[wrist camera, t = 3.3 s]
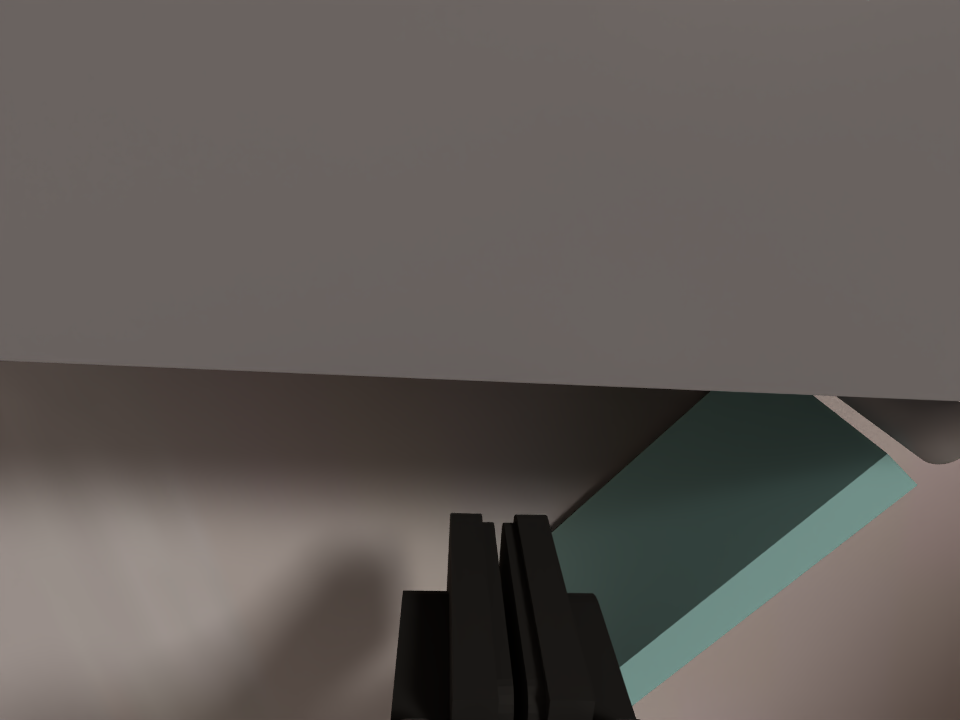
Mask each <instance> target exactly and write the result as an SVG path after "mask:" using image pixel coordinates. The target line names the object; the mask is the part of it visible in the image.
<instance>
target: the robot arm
mask: <svg viewBox="0 0 960 720" xmlns="http://www.w3.org/2000/svg"><path fill="white" fill-rule="evenodd" d="M391 720H639V719H636V717H635V714H634V711H633V708H632V704H631V701H630V698H629V695H628V692H627V689H626V686H625V683H624V680H623V676H622V673H621V670H620V667H619V664H618V661H617V658H616V655H615V652H614V649H613V645H612V642H611V639H610V636H609V633H608V630H607V627H606V624H605V621H604V617H603V614H602V611H601V608H600V605H599V602H598V600H597V597H596V596H595V595H594V594H593V593H567V590H566V586H565V583H564V579H563V575H562V571H561V567H560V563H559V560H558V556H557V552H556V548H555V544H554V540H553V536H552V533H551V529H550V525H549V521H548V518H547V516H546V515H515V516H514V522H513V523H503V525H502V534H501V547H500V560H499V561H498V553H497V545H496V536H495V528H494V523H493V522H482V514H468V513H451V514H450V532H449V554H448V575H447V591H403V596H402V606H401V617H400V627H399V638H398V648H397V659H396V669H395V680H394V690H393V701H392V711H391Z"/></svg>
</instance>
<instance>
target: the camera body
mask: <svg viewBox="0 0 960 720" xmlns="http://www.w3.org/2000/svg"><path fill="white" fill-rule="evenodd" d="M0 361H22V362H46V363H69V364H93V365H116V366H140V367H164V368H187V369H211V370H234V371H258V372H282V373H305V374H329V375H352V376H376V377H400V378H423V379H447V380H470V381H494V382H517V383H541V384H565V385H588V386H612V387H635V388H659V389H683V390H706V391H730V392H753V393H777V394H801V395H824V396H848V397H871V398H895V399H918V400H942V401H960V0H0Z"/></svg>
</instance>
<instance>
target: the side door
mask: <svg viewBox="0 0 960 720" xmlns="http://www.w3.org/2000/svg"><path fill="white" fill-rule="evenodd" d="M837 397H838V398H839V399H841V400H842V401H843V402H845V403H846V404H848V405H849V406H850V407H852V408H853V409H854V410H856V411H857V412H858V413H860V414H861V415H862V416H864V417H865V418H867V419H868V420H869V421H871V422H872V423H873V424H875V425H876V426H877V427H879V428H880V429H881V430H883V431H884V432H886V433H887V434H888V435H890V436H891V437H892V438H894V439H895V440H896V441H898V442H899V443H900V444H902V445H903V446H905V447H906V448H907V449H909V450H910V451H911V452H913V453H914V454H915V455H917V456H918V457H919V458H921V459H922V460H924V461H926V462H928V463H931V464H946V463H950V462H953V461H956V460H958V459H959V458H960V402H959V401H942V400H918V399H895V398H871V397H848V396H837ZM915 486H917V484H916V483H915V482H914V481H913V480H912V479H911V478H910V477H909V476H908V475H907V474H906V473H905V472H904V471H903V470H902V468H901V467H900V466H899V465H898V464H897V463H896V462H895V461H894V460H893V459H892V458H891V457H890V456H889V455H888V454H887V453H886V452H884V451H883V450H882V449H881V448H879V447H878V446H877V445H876V444H874V443H873V442H872V441H870V440H869V439H868V438H867V437H865V436H864V435H863V434H861V433H860V432H859V431H858V430H856V429H855V428H854V427H853V426H851V425H850V424H849V423H847V422H846V421H845V420H844V419H842V418H841V417H840V416H839V415H837V414H836V413H835V412H833V411H832V410H831V409H830V408H828V407H827V406H826V405H824V404H823V403H822V402H821V401H819V400H818V399H817V398H816V397H814V396H813V395H801V394H777V393H753V392H730V391H710V392H709V393H708V394H707V395H706V396H705V397H703V398H702V399H701V400H700V401H699V402H698V403H697V404H696V405H694V406H693V407H692V408H691V409H690V410H689V411H688V412H687V413H685V414H684V415H683V416H682V417H681V418H680V419H679V420H678V421H677V422H675V423H674V424H673V425H672V426H671V427H670V428H669V429H668V430H666V431H665V432H664V433H663V434H662V435H661V436H660V437H659V438H657V439H656V440H655V441H654V442H653V443H652V444H651V445H650V446H648V447H647V448H646V449H645V450H644V451H643V452H642V453H641V454H639V455H638V456H637V457H636V458H635V459H634V460H633V461H632V462H630V463H629V464H628V465H627V466H626V467H625V468H624V469H623V470H621V471H620V472H619V473H618V474H617V475H616V476H615V477H614V478H613V479H611V480H610V481H609V482H608V483H607V484H606V485H605V486H604V487H602V488H601V489H600V490H599V491H598V492H597V493H596V494H595V495H593V496H592V497H591V498H590V499H589V500H588V501H587V502H586V503H584V504H583V505H582V506H581V507H580V508H579V509H578V510H577V511H575V512H574V513H573V514H572V515H571V516H570V517H569V518H568V519H566V520H565V521H564V522H563V523H562V524H561V525H560V526H559V527H558V528H556V529H555V530H554V531H553V532H552V536H553V540H554V544H555V548H556V552H557V556H558V560H559V563H560V567H561V571H562V575H563V579H564V583H565V586H566V590H567V593H593V594H594V595H595V596H596V597H597V600H598V602H599V605H600V608H601V611H602V614H603V617H604V621H605V624H606V627H607V630H608V633H609V636H610V639H611V642H612V645H613V649H614V652H615V655H616V658H617V661H618V664H619V667H620V670H621V673H622V676H623V680H624V683H625V686H626V689H627V692H628V695H629V698H630V701H631V704H632V706H633V705H634V704H635V703H636V702H638V701H639V700H640V699H642V698H643V697H644V696H645V695H647V694H648V693H649V692H651V691H652V690H653V689H655V688H656V687H657V686H658V685H660V684H661V683H662V682H664V681H665V680H666V679H667V678H669V677H670V676H671V675H673V674H674V673H675V672H676V671H678V670H679V669H680V668H682V667H683V666H684V665H686V664H687V663H688V662H689V661H691V660H692V659H693V658H695V657H696V656H697V655H698V654H700V653H701V652H702V651H704V650H705V649H706V648H707V647H709V646H710V645H711V644H713V643H714V642H715V641H717V640H718V639H719V638H720V637H722V636H723V635H724V634H726V633H727V632H728V631H729V630H731V629H732V628H733V627H735V626H736V625H737V624H738V623H740V622H741V621H742V620H744V619H745V618H746V617H748V616H749V615H750V614H751V613H753V612H754V611H755V610H757V609H758V608H759V607H760V606H762V605H763V604H764V603H766V602H767V601H768V600H770V599H771V598H772V597H773V596H775V595H776V594H777V593H779V592H780V591H781V590H782V589H784V588H785V587H786V586H788V585H789V584H790V583H791V582H793V581H794V580H795V579H797V578H798V577H799V576H801V575H802V574H803V573H804V572H806V571H807V570H808V569H810V568H811V567H812V566H813V565H815V564H816V563H817V562H819V561H820V560H821V559H822V558H824V557H825V556H826V555H828V554H829V553H830V552H832V551H833V550H834V549H835V548H837V547H838V546H839V545H841V544H842V543H843V542H844V541H846V540H847V539H848V538H850V537H851V536H852V535H853V534H855V533H856V532H857V531H859V530H860V529H861V528H863V527H864V526H865V525H866V524H868V523H869V522H870V521H872V520H873V519H874V518H875V517H877V516H878V515H879V514H881V513H882V512H883V511H884V510H886V509H887V508H888V507H890V506H891V505H892V504H894V503H895V502H896V501H897V500H899V499H900V498H901V497H903V496H904V495H905V494H906V493H908V492H909V491H910V490H912V489H913V488H914V487H915Z"/></svg>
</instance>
